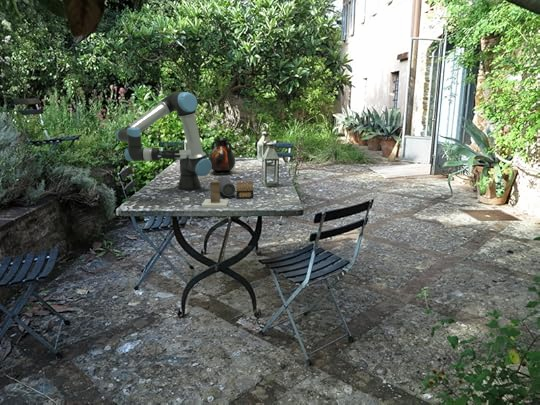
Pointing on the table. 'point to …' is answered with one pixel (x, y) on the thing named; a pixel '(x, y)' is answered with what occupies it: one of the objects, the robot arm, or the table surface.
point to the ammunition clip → (244, 190)
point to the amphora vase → (221, 157)
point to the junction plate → (208, 203)
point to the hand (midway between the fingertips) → (188, 154)
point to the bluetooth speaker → (226, 186)
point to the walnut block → (215, 191)
